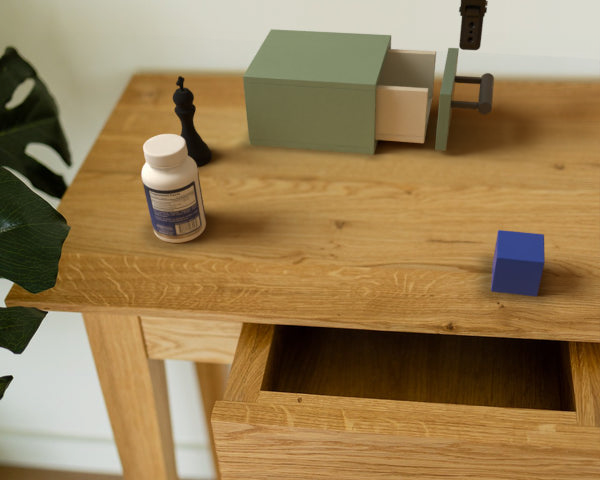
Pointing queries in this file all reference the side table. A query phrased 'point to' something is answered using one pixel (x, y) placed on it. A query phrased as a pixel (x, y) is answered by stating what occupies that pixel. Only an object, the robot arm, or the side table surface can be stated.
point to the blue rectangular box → (518, 263)
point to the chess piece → (190, 125)
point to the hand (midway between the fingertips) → (469, 46)
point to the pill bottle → (172, 189)
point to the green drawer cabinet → (315, 90)
